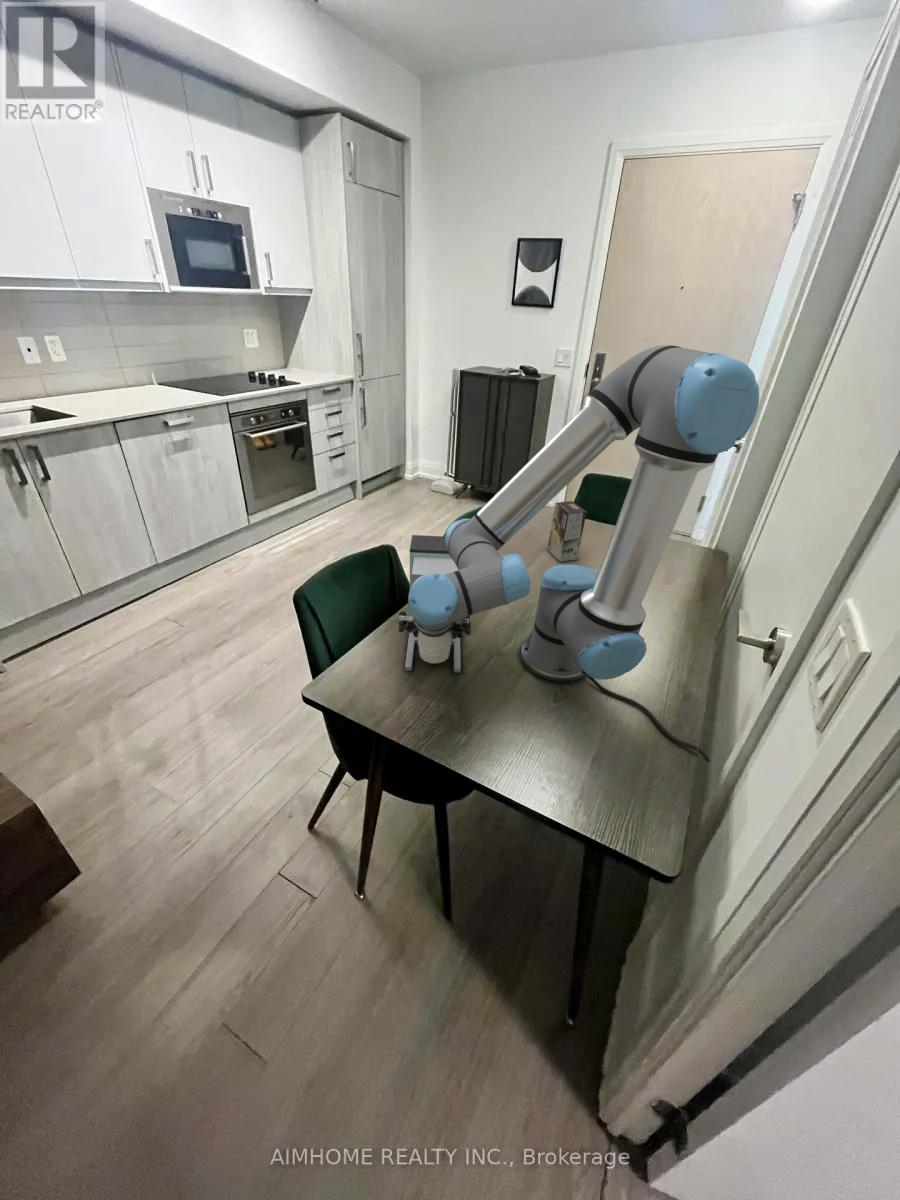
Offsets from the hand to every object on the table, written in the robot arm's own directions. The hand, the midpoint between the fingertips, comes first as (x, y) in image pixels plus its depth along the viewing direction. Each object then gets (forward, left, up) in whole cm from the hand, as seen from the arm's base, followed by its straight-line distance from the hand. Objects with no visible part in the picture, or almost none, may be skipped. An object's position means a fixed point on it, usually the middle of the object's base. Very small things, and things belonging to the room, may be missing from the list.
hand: (435, 632), depth 109 cm
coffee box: (+8, -63, -5) cm, 64 cm away
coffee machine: (+2, -2, -5) cm, 6 cm away
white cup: (-2, +2, -4) cm, 5 cm away
